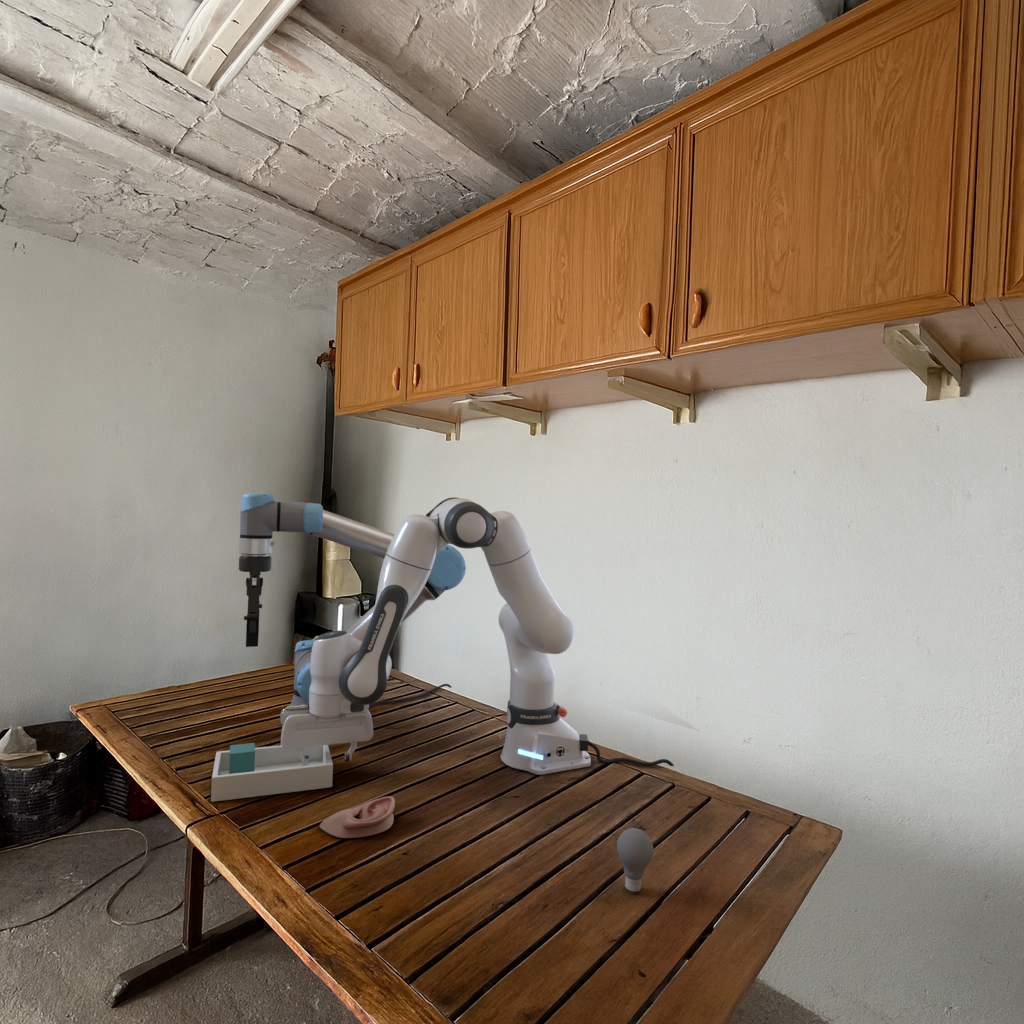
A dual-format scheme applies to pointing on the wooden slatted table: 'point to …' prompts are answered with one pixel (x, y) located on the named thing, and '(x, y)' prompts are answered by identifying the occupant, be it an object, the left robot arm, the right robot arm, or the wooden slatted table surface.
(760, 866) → the wooden slatted table surface
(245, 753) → the block
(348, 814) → the anatomical model
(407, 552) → the right robot arm
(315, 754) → the tray
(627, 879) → the light bulb
